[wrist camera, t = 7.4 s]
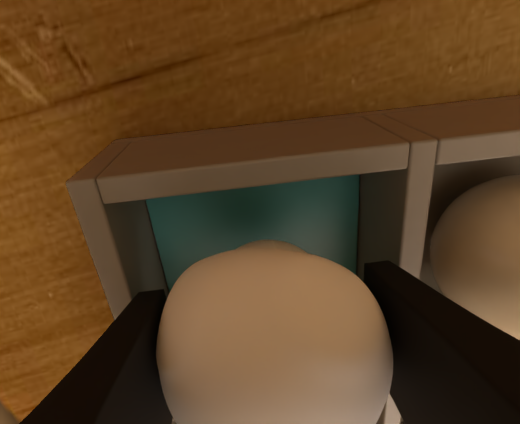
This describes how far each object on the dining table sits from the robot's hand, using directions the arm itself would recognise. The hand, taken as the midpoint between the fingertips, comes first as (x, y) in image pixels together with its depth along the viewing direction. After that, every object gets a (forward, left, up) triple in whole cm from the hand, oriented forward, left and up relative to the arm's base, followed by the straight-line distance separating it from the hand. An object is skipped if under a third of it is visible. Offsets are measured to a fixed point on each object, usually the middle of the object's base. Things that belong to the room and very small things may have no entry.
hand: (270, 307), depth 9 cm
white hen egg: (0, 0, -2) cm, 2 cm away
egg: (+7, 0, -3) cm, 8 cm away
